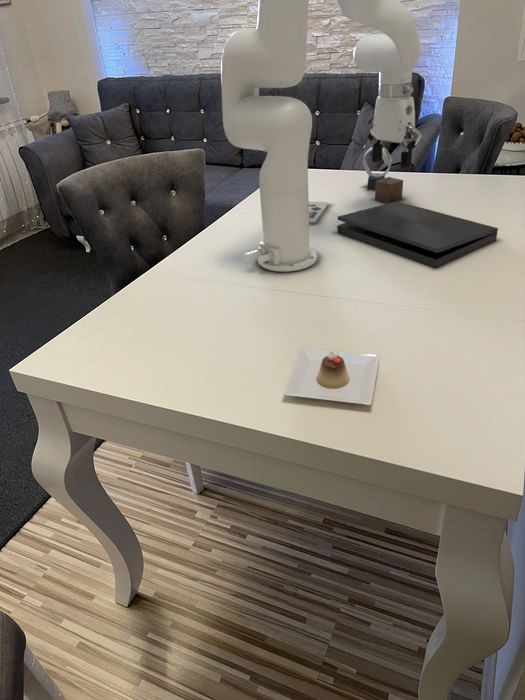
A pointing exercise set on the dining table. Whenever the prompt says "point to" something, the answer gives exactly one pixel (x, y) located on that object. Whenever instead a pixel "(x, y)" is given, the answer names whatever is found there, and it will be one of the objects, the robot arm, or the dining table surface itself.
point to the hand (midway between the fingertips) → (390, 164)
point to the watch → (375, 177)
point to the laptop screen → (418, 226)
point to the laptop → (409, 249)
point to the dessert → (333, 375)
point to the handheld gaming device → (316, 210)
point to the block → (388, 190)
